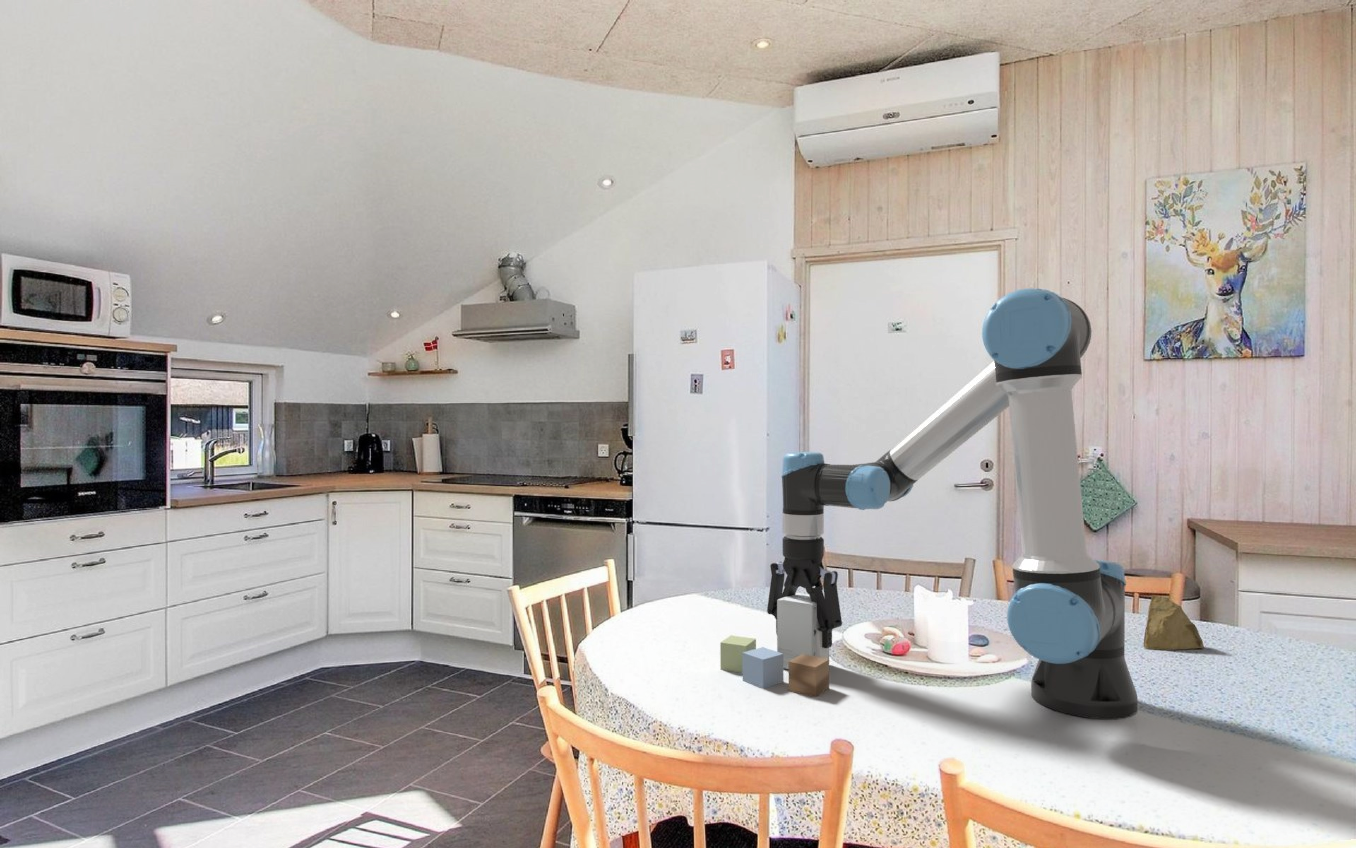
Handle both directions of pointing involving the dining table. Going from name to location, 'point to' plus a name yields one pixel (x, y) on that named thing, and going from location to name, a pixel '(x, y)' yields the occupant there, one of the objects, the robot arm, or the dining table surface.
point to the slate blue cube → (762, 667)
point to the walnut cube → (809, 675)
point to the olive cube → (735, 652)
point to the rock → (1169, 627)
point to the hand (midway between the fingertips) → (803, 659)
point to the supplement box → (796, 627)
